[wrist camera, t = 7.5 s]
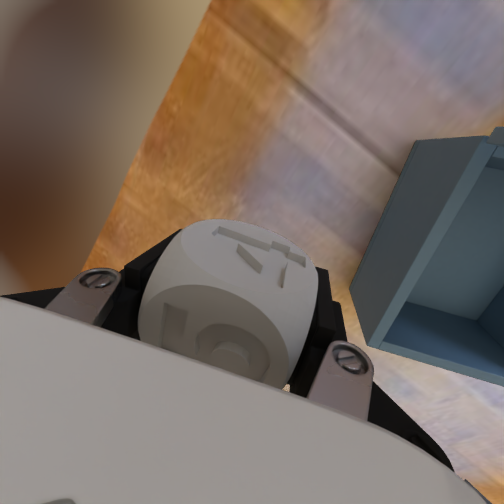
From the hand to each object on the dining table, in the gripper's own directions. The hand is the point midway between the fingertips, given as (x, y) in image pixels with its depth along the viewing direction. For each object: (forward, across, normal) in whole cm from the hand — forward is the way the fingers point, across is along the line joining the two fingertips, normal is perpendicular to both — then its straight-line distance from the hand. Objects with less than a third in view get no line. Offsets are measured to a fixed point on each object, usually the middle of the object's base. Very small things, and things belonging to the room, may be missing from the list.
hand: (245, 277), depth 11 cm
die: (+1, 0, 0) cm, 1 cm away
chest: (+16, -17, 0) cm, 23 cm away
